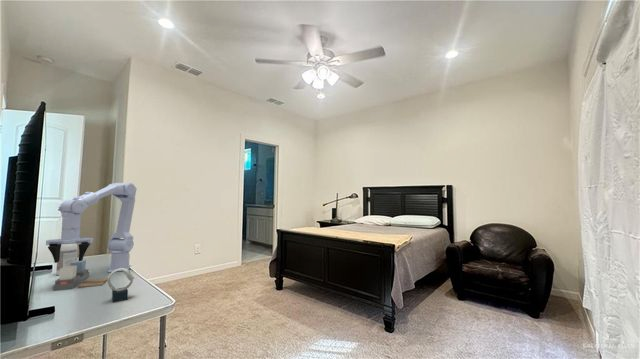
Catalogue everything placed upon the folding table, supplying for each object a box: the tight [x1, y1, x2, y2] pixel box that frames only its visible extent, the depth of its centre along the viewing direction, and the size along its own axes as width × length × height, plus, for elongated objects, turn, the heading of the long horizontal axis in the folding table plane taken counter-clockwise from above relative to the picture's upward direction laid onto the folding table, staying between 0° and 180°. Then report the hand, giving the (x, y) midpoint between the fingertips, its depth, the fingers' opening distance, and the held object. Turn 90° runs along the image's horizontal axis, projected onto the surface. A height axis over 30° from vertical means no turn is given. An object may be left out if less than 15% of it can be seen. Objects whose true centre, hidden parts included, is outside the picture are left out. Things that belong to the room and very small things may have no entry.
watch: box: [106, 268, 135, 304], centre depth 99 cm, size 6×8×11 cm
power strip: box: [52, 268, 90, 292], centre depth 117 cm, size 24×6×4 cm, turn 24°
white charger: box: [58, 265, 77, 280], centre depth 110 cm, size 4×4×6 cm
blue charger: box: [71, 259, 87, 273], centre depth 119 cm, size 4×4×6 cm
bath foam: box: [55, 242, 79, 276], centre depth 127 cm, size 7×7×20 cm
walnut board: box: [77, 277, 108, 289], centre depth 114 cm, size 9×8×1 cm
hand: (68, 261), depth 110 cm, fingers open, 7 cm apart
